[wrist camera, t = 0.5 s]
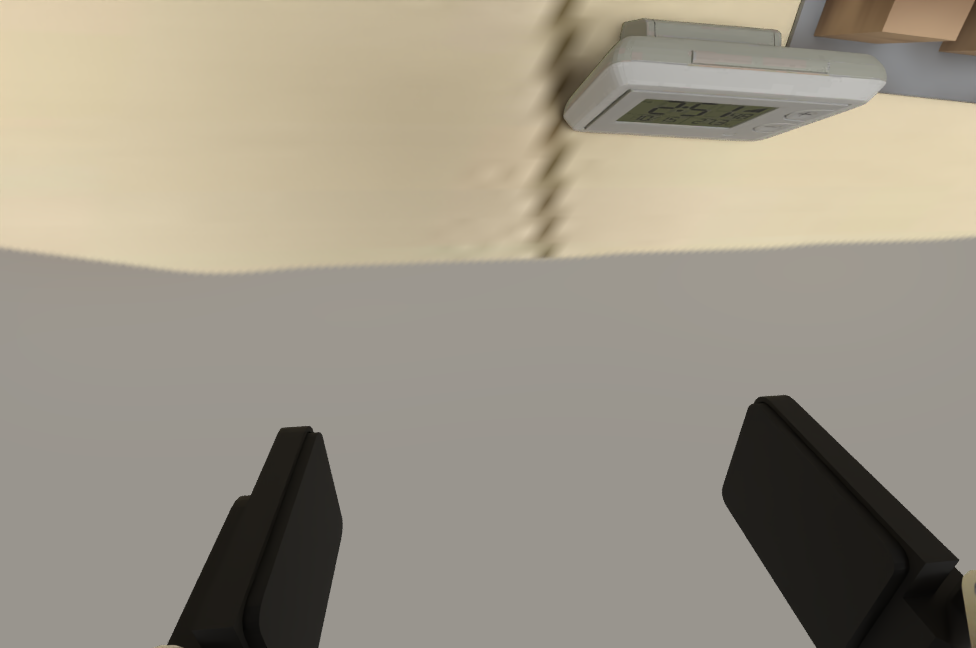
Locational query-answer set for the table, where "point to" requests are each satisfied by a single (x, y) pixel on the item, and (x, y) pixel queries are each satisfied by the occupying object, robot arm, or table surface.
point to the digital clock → (717, 83)
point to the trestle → (899, 41)
